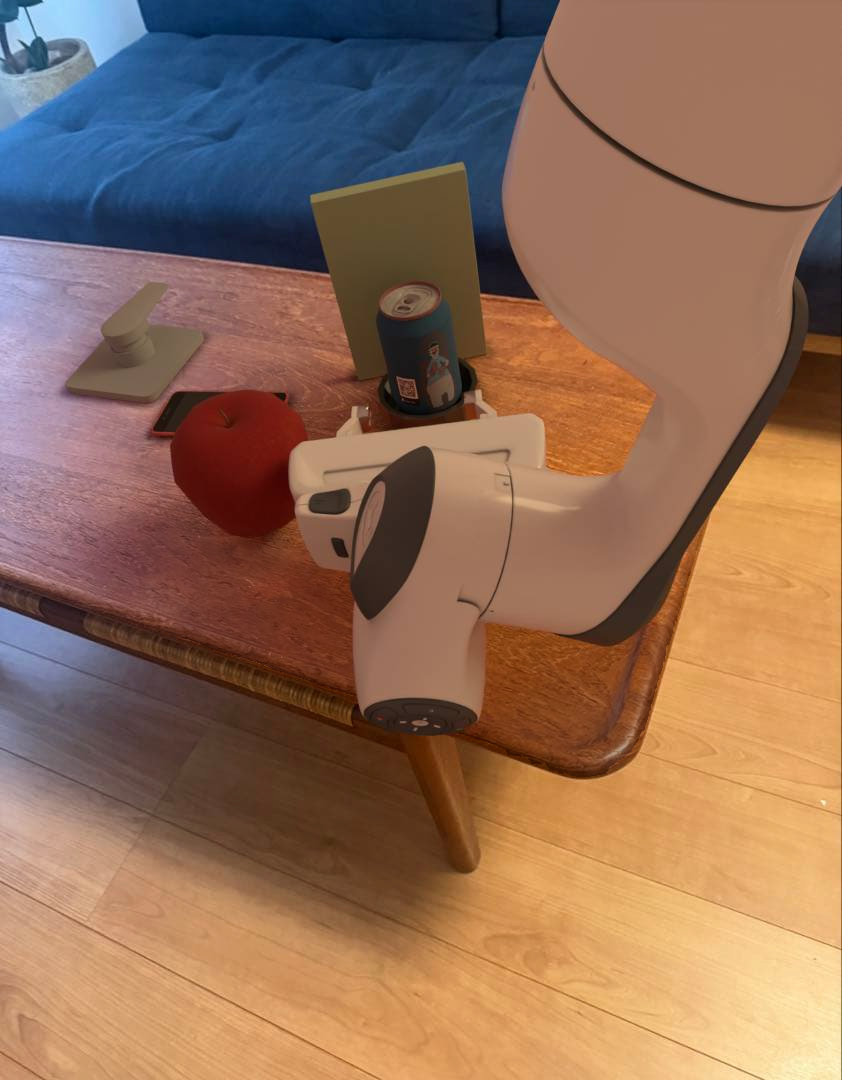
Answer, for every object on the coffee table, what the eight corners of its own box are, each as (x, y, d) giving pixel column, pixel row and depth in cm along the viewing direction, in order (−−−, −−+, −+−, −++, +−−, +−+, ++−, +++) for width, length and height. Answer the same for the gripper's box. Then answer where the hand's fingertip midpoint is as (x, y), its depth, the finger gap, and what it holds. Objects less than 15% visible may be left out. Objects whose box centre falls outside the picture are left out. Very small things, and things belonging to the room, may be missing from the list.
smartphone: (270, 436, 83) (147, 433, 86) (271, 440, 83) (149, 437, 87) (290, 391, 87) (173, 389, 90) (292, 395, 87) (175, 393, 91)
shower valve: (201, 283, 95) (132, 364, 86) (217, 323, 99) (152, 404, 90) (115, 277, 99) (41, 354, 90) (134, 315, 103) (65, 392, 95)
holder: (470, 364, 86) (468, 345, 84) (488, 426, 80) (485, 406, 78) (378, 384, 86) (373, 365, 85) (387, 447, 80) (382, 428, 78)
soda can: (414, 374, 86) (394, 272, 77) (474, 385, 83) (460, 282, 74) (383, 416, 82) (358, 315, 73) (445, 430, 79) (426, 326, 70)
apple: (253, 587, 71) (198, 480, 61) (183, 524, 77) (122, 418, 67) (356, 506, 75) (320, 394, 65) (281, 453, 82) (238, 344, 72)
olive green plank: (484, 345, 88) (462, 161, 73) (487, 354, 87) (465, 169, 72) (357, 372, 88) (309, 194, 73) (358, 381, 87) (310, 203, 72)
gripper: (560, 480, 56) (539, 356, 65) (272, 514, 58) (291, 390, 67) (563, 539, 61) (543, 416, 70) (296, 568, 63) (310, 445, 72)
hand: (417, 403), depth 69 cm, fingers open, 8 cm apart
